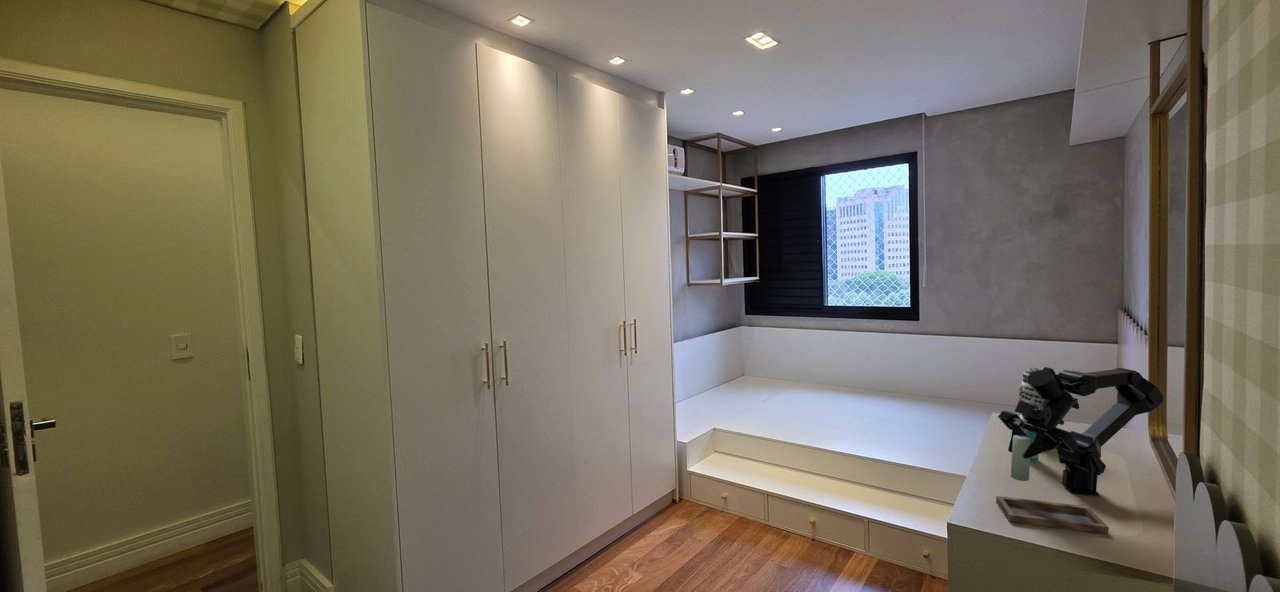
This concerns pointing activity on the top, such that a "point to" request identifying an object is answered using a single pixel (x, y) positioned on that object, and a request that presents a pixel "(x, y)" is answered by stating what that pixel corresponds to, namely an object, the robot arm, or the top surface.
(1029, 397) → the decorative candle
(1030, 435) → the tube
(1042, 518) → the brown wooden flat tray
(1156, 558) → the top surface
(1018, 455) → the post
